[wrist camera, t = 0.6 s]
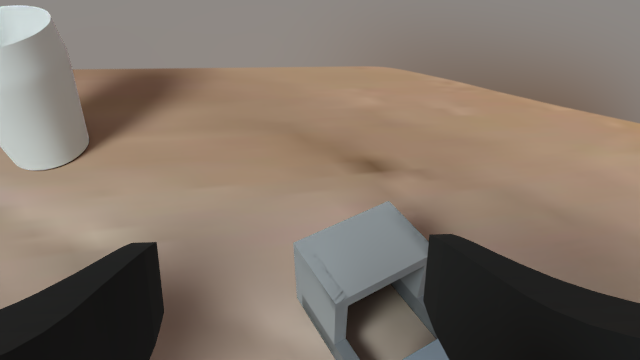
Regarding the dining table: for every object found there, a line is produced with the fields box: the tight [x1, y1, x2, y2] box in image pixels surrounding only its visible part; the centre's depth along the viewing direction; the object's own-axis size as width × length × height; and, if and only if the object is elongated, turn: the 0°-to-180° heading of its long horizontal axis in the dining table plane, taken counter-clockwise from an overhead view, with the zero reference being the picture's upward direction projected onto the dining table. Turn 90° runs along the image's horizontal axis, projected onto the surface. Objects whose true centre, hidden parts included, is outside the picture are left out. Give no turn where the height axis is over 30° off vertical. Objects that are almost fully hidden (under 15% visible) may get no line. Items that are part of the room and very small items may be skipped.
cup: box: [0, 6, 89, 170], centre depth 39 cm, size 9×9×12 cm
